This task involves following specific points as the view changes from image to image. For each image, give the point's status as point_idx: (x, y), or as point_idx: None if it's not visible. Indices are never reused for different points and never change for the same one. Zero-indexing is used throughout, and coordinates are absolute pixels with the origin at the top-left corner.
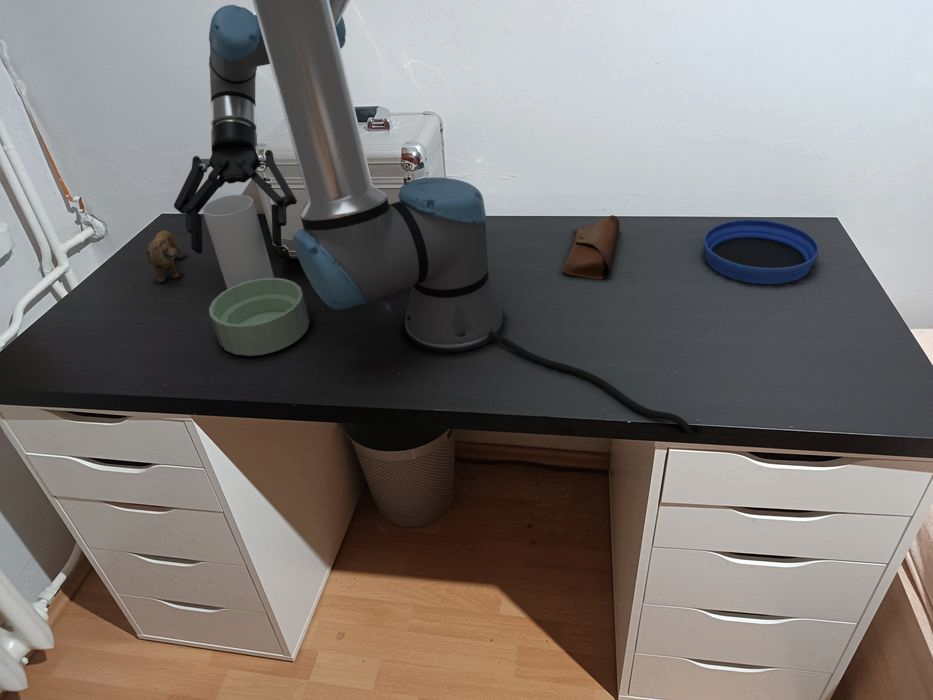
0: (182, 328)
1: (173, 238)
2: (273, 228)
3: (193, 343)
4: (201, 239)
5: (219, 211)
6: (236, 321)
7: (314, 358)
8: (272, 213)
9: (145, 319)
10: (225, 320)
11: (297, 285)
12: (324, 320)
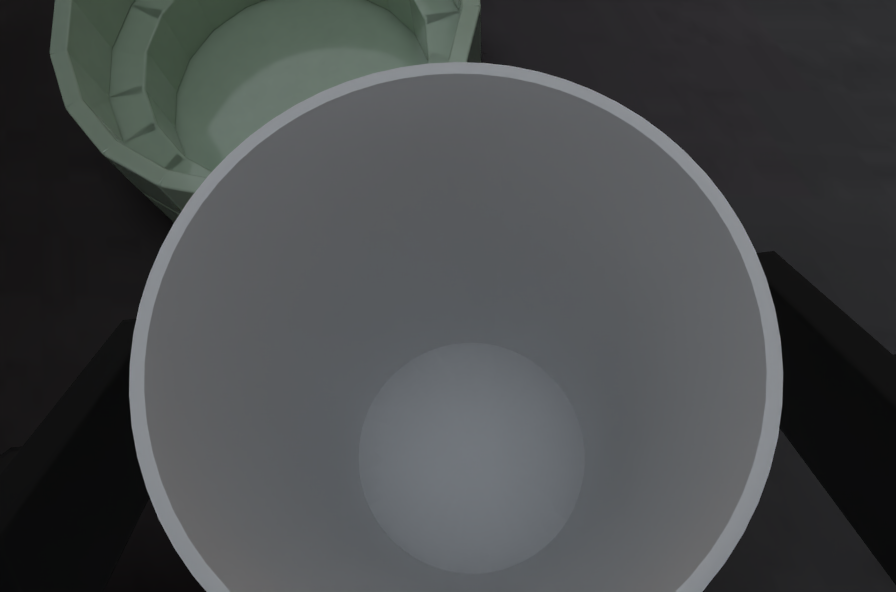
0: (672, 137)
1: None
2: (103, 373)
3: (573, 46)
4: None
5: (662, 537)
6: None
7: None
8: (42, 469)
9: (890, 204)
10: (429, 21)
11: (80, 120)
12: (83, 178)
